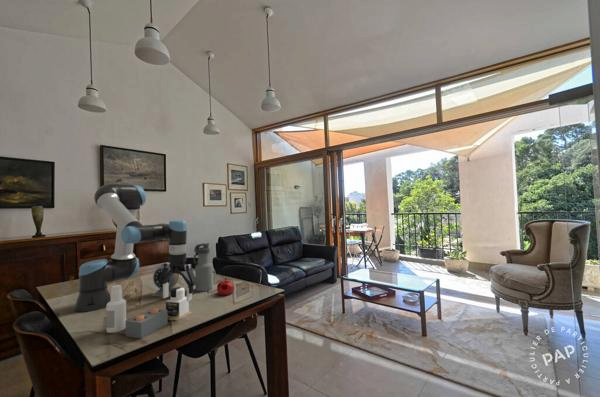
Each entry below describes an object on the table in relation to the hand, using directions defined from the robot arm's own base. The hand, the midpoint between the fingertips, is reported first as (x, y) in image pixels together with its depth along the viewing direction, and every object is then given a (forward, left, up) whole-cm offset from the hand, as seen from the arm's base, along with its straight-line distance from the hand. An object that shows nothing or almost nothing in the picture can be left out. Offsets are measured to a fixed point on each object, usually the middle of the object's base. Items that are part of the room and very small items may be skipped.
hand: (177, 298), depth 123 cm
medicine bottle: (0, 0, -7) cm, 7 cm away
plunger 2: (-2, -12, -6) cm, 13 cm away
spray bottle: (-15, -18, -8) cm, 25 cm away
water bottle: (-14, +37, -8) cm, 40 cm away
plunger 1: (-2, -19, -6) cm, 20 cm away
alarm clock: (-31, +25, -8) cm, 40 cm away
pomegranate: (+4, +33, -8) cm, 34 cm away
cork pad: (0, -1, -8) cm, 8 cm away
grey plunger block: (-2, -15, -8) cm, 17 cm away
